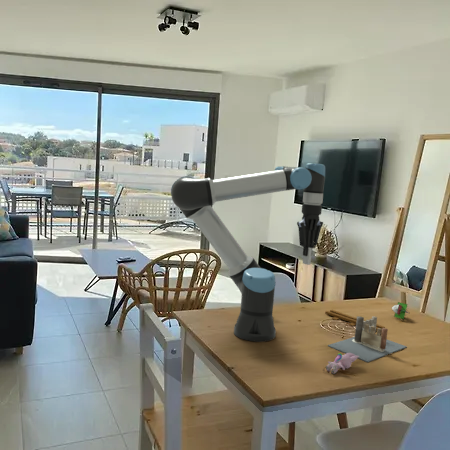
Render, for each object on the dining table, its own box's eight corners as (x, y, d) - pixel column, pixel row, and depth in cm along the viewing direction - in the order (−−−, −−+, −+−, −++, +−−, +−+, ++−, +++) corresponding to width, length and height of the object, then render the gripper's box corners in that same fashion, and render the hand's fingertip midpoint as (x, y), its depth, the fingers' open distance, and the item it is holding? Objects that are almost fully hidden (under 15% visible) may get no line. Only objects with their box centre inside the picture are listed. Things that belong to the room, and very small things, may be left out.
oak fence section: (360, 341, 169) (362, 322, 168) (362, 340, 171) (364, 321, 170) (383, 349, 163) (386, 330, 162) (386, 348, 164) (388, 329, 163)
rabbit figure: (334, 382, 140) (364, 363, 149) (334, 364, 139) (365, 346, 148) (318, 374, 145) (348, 356, 154) (318, 356, 144) (348, 340, 153)
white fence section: (358, 343, 169) (361, 318, 168) (353, 340, 171) (355, 317, 170) (376, 337, 177) (379, 314, 176) (370, 335, 179) (373, 312, 178)
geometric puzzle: (398, 308, 212) (395, 296, 207) (413, 312, 207) (410, 300, 203) (391, 320, 208) (388, 308, 204) (406, 324, 203) (403, 312, 199)
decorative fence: (374, 335, 182) (387, 330, 189) (374, 330, 182) (388, 325, 188) (321, 316, 201) (335, 313, 207) (321, 312, 200) (335, 308, 207)
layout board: (367, 362, 153) (367, 361, 153) (327, 346, 165) (327, 344, 165) (406, 347, 169) (406, 346, 169) (367, 333, 181) (367, 332, 181)
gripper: (315, 203, 188) (310, 260, 191) (293, 202, 180) (288, 263, 183) (330, 205, 183) (324, 264, 186) (308, 204, 174) (302, 267, 177)
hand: (306, 263), depth 184 cm, fingers closed
